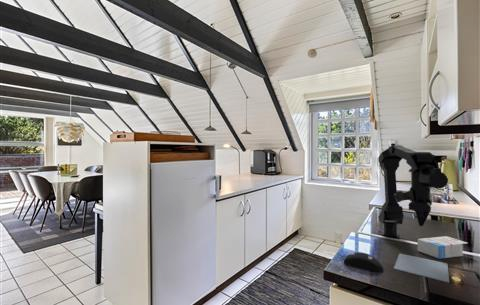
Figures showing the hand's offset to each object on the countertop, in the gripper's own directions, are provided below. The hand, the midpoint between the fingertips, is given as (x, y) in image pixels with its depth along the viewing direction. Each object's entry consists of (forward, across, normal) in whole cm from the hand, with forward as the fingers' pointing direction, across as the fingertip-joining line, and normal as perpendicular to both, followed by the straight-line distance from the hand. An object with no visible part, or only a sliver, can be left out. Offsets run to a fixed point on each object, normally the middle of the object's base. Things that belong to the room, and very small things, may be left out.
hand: (421, 225), depth 90 cm
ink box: (+9, -3, +2) cm, 10 cm away
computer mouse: (+12, +23, -15) cm, 30 cm away
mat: (+11, +11, 0) cm, 16 cm away
